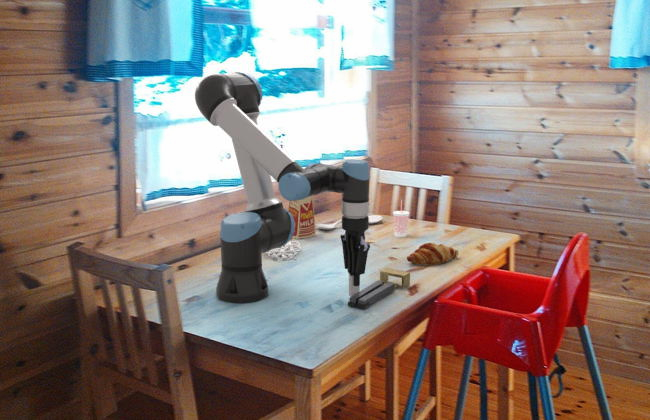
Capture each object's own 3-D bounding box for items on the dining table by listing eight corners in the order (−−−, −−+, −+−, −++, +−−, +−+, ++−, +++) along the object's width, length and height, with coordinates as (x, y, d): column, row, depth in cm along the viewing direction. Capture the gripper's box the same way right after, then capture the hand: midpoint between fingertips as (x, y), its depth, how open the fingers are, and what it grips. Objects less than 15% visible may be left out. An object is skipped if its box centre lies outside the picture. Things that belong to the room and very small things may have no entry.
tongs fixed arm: (387, 284, 224) (387, 276, 224) (402, 287, 221) (402, 279, 221) (348, 306, 205) (348, 298, 205) (363, 310, 203) (364, 301, 202)
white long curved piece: (309, 229, 290) (309, 221, 289) (373, 219, 307) (373, 211, 306) (321, 234, 283) (321, 226, 282) (387, 223, 300) (387, 215, 299)
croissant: (451, 264, 256) (445, 242, 258) (469, 257, 248) (463, 235, 250) (402, 272, 246) (396, 249, 247) (419, 265, 237) (413, 242, 239)
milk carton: (284, 235, 281) (283, 183, 276) (302, 231, 287) (302, 180, 282) (299, 239, 274) (299, 187, 270) (318, 235, 280) (318, 184, 276)
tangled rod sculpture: (303, 264, 249) (304, 252, 248) (261, 262, 247) (262, 250, 246) (298, 246, 268) (298, 236, 267) (258, 245, 266) (259, 234, 265)
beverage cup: (411, 234, 282) (412, 199, 279) (404, 238, 277) (405, 201, 274) (396, 232, 285) (397, 197, 282) (389, 236, 280) (390, 200, 277)
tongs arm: (377, 287, 221) (377, 280, 220) (384, 288, 220) (384, 281, 219) (347, 305, 205) (347, 298, 205) (355, 307, 204) (355, 299, 203)
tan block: (385, 279, 228) (386, 267, 227) (409, 284, 223) (410, 272, 222) (379, 283, 224) (380, 271, 223) (403, 287, 220) (404, 275, 219)
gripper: (378, 219, 201) (377, 300, 207) (355, 209, 212) (354, 286, 218) (355, 222, 198) (353, 304, 203) (332, 211, 209) (331, 290, 214)
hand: (354, 295), depth 210 cm, fingers closed
